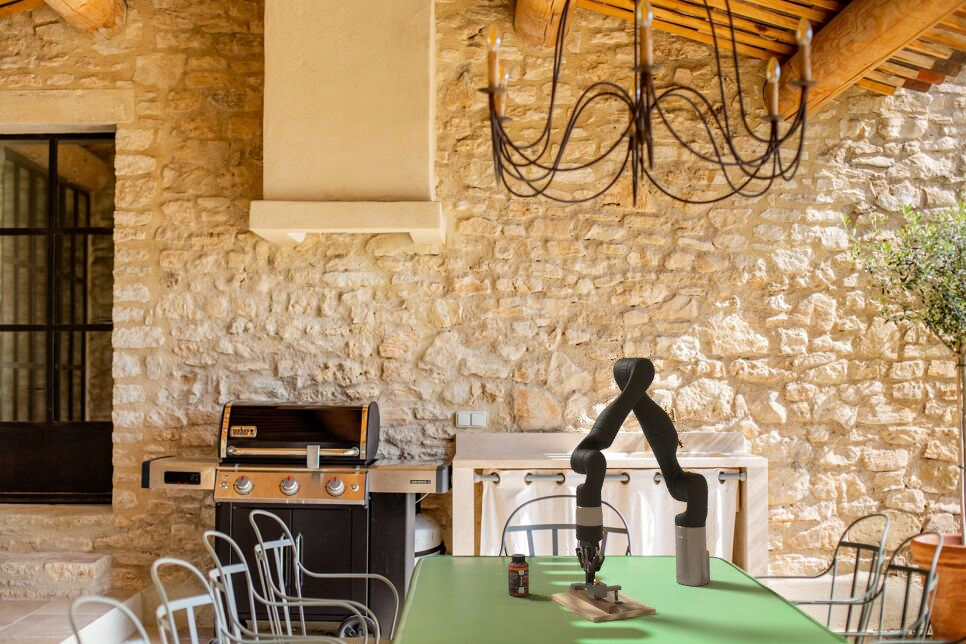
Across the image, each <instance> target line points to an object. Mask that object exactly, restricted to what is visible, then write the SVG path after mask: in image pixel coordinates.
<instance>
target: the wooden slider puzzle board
mask: <svg viewBox="0 0 966 644" xmlns="http://www.w3.org/2000/svg"><path fill="white" fill-rule="evenodd" d="M550 598H551V600H553V601H554V602H557V603H558V604H560V605H562V606H563V607H565V608H567V609H569V610H570V611H572V612H574V613H576V614H578V615H579V616H581V617H583V618H584V619H587V620H588V621H590V622H592V623H596V622H604V621H605V622H606V620H607V621H611V620H612V621H613V620H619V619H627V618H634V617H641V616H648V615H656V614H657V609H656V608H654V607H653V606H650V605H648V604H646V603H643V602H641V601H639V600H637V599H635V598H633V597H631V596H628V595H626V594H624V593H622V592H620V591H618V601H615V600H614V591H610V592H607V598H599V599H593V598H591V597H589V596H587V589H586V588H585V589H579V590H574V589H572V588H571V585H569V586H568V592H562V593H554V594H551V595H550Z"/></svg>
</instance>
